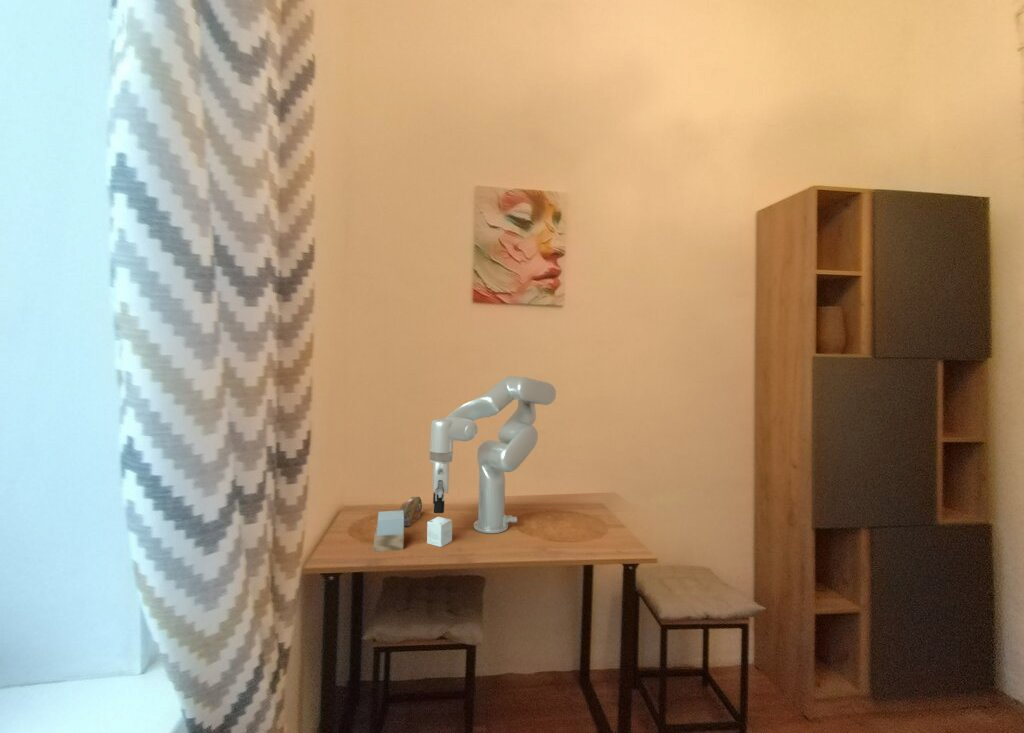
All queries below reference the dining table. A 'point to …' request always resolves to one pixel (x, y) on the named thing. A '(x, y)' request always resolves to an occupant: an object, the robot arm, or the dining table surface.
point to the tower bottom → (388, 542)
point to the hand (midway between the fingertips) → (438, 508)
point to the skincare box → (439, 531)
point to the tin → (411, 510)
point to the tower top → (390, 523)
